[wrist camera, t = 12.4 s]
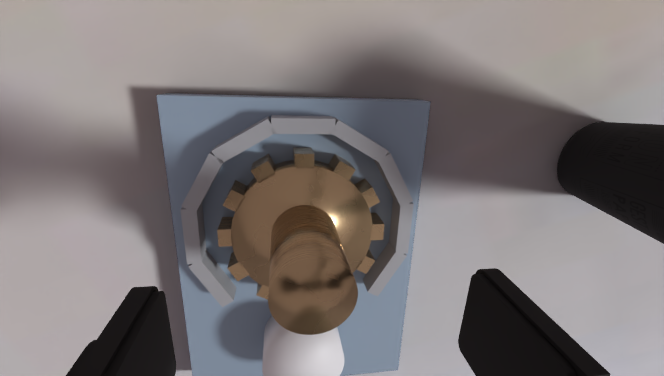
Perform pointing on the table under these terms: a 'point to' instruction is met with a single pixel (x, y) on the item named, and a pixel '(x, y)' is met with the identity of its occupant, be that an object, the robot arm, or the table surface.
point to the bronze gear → (302, 238)
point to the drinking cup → (618, 172)
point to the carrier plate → (207, 211)
